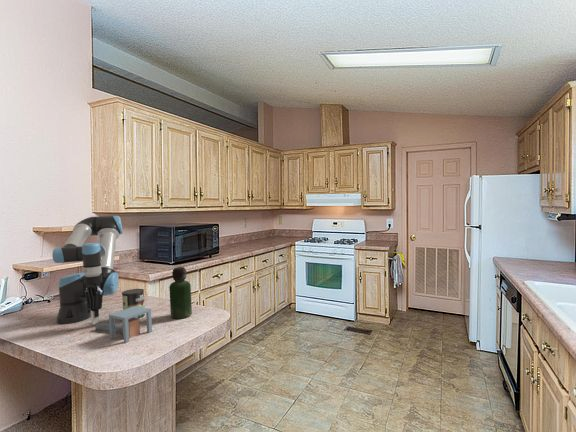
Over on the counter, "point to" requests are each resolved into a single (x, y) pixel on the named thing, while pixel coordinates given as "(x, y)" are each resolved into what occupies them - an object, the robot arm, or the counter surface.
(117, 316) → the blue toy stool
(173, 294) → the green bottle
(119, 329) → the steel bar
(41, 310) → the counter surface
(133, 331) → the block
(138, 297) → the coffee can
